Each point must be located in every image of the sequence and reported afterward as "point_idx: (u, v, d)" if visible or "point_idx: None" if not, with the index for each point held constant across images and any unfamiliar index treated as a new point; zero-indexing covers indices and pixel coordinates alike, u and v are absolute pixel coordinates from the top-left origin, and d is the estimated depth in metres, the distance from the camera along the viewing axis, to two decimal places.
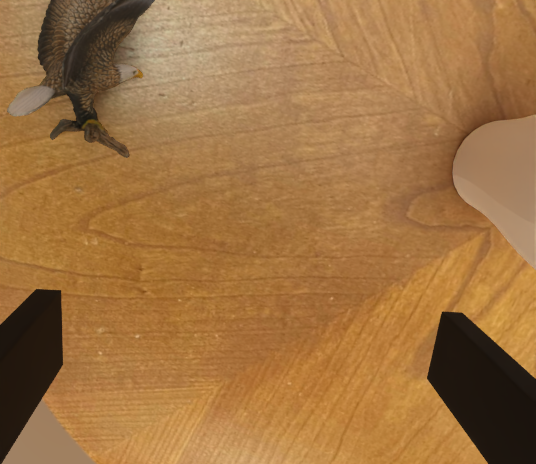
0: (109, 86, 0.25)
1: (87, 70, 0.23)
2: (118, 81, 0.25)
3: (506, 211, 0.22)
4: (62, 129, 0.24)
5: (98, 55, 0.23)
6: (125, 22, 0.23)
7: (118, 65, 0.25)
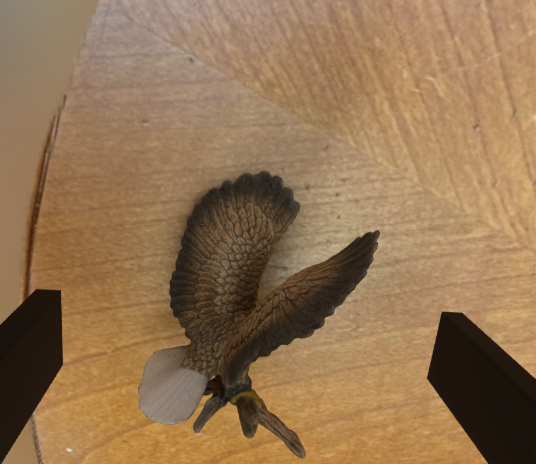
0: None
1: None
2: None
3: None
4: (209, 416, 0.17)
5: None
6: None
7: None
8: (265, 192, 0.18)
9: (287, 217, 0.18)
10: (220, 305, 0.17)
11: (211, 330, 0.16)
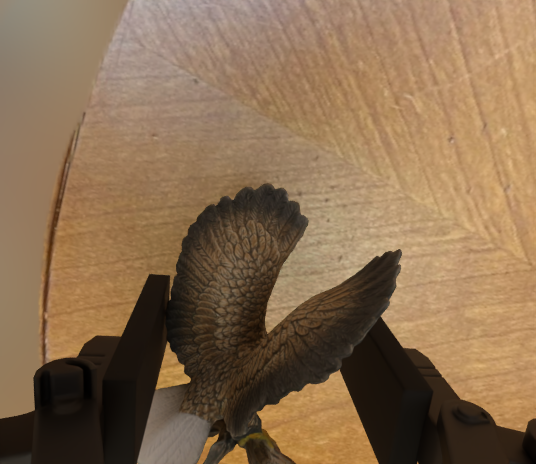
0: None
1: None
2: None
3: None
4: (215, 463, 0.15)
5: None
6: None
7: None
8: (268, 207, 0.16)
9: (294, 234, 0.16)
10: (222, 338, 0.15)
11: (212, 368, 0.14)
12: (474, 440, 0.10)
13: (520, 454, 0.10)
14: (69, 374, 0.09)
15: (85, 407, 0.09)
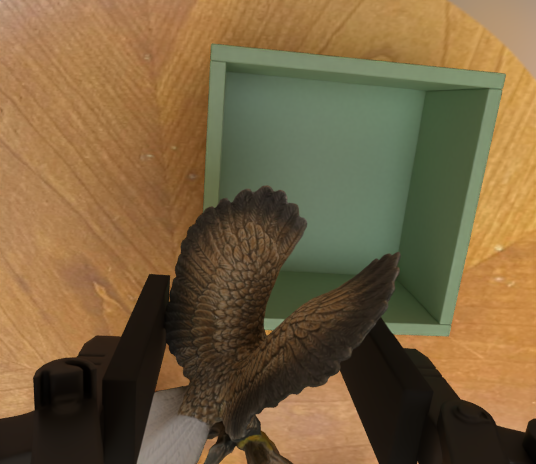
0: None
1: None
2: None
3: None
4: None
5: None
6: None
7: None
8: (267, 209, 0.16)
9: (293, 236, 0.16)
10: (221, 341, 0.15)
11: (211, 370, 0.14)
12: (474, 440, 0.10)
13: (520, 453, 0.10)
14: (69, 374, 0.09)
15: (85, 407, 0.09)
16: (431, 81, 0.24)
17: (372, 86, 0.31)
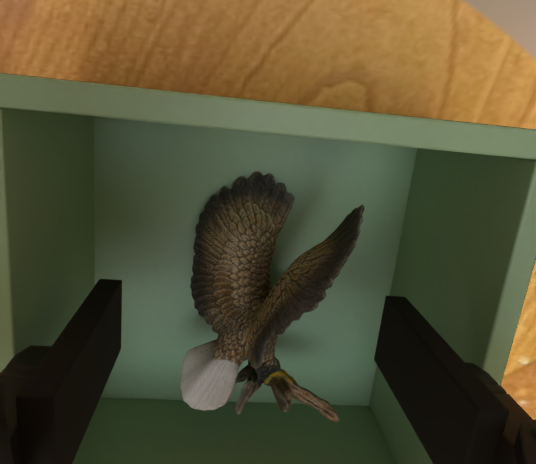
0: None
1: None
2: None
3: None
4: (247, 398, 0.19)
5: None
6: None
7: None
8: (260, 190, 0.20)
9: (284, 209, 0.20)
10: (237, 298, 0.18)
11: (233, 321, 0.18)
12: None
13: None
14: None
15: None
16: (425, 147, 0.12)
17: None
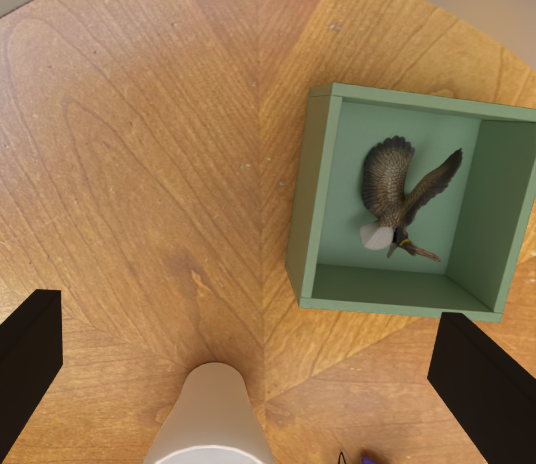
0: None
1: None
2: None
3: None
4: (393, 250, 0.36)
5: None
6: None
7: None
8: (398, 145, 0.38)
9: (410, 155, 0.38)
10: (390, 198, 0.36)
11: (389, 209, 0.36)
12: None
13: None
14: None
15: None
16: (500, 116, 0.30)
17: (437, 114, 0.38)
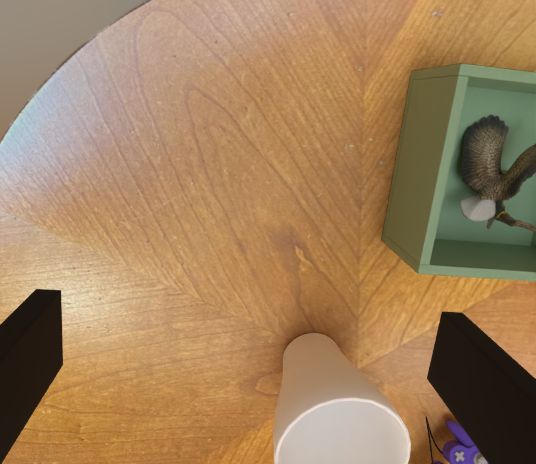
0: None
1: None
2: None
3: None
4: (493, 221, 0.39)
5: None
6: None
7: None
8: (493, 123, 0.40)
9: (505, 133, 0.40)
10: (490, 172, 0.39)
11: (489, 183, 0.39)
12: None
13: None
14: None
15: None
16: None
17: (530, 94, 0.40)
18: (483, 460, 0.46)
